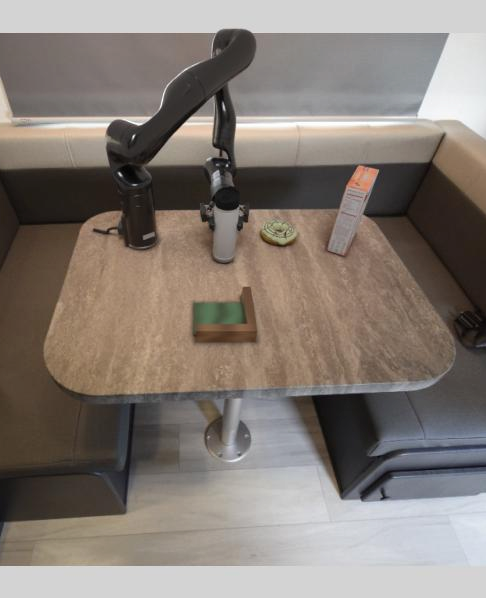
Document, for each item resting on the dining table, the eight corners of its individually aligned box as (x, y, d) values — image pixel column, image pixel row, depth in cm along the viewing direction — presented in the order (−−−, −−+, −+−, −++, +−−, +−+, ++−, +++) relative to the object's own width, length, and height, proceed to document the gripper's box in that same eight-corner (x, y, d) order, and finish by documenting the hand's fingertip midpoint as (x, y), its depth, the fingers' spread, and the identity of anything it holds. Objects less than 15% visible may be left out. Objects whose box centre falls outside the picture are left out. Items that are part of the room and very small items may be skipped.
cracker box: (337, 227, 112) (358, 163, 97) (356, 233, 110) (381, 169, 95) (324, 250, 103) (345, 184, 88) (344, 257, 101) (370, 190, 86)
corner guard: (193, 342, 79) (193, 330, 76) (193, 297, 88) (193, 286, 86) (255, 342, 79) (257, 330, 76) (249, 297, 89) (250, 286, 86)
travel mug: (238, 252, 101) (245, 188, 86) (229, 265, 97) (235, 201, 82) (218, 246, 103) (221, 182, 88) (208, 259, 98) (211, 195, 84)
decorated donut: (285, 252, 102) (288, 242, 100) (253, 239, 106) (255, 229, 104) (300, 235, 108) (303, 225, 106) (270, 223, 112) (271, 213, 110)
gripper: (198, 182, 99) (198, 215, 87) (248, 183, 99) (255, 216, 88) (198, 206, 104) (198, 240, 93) (246, 206, 105) (252, 240, 93)
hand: (226, 228), depth 90 cm, fingers closed on travel mug, 6 cm apart
